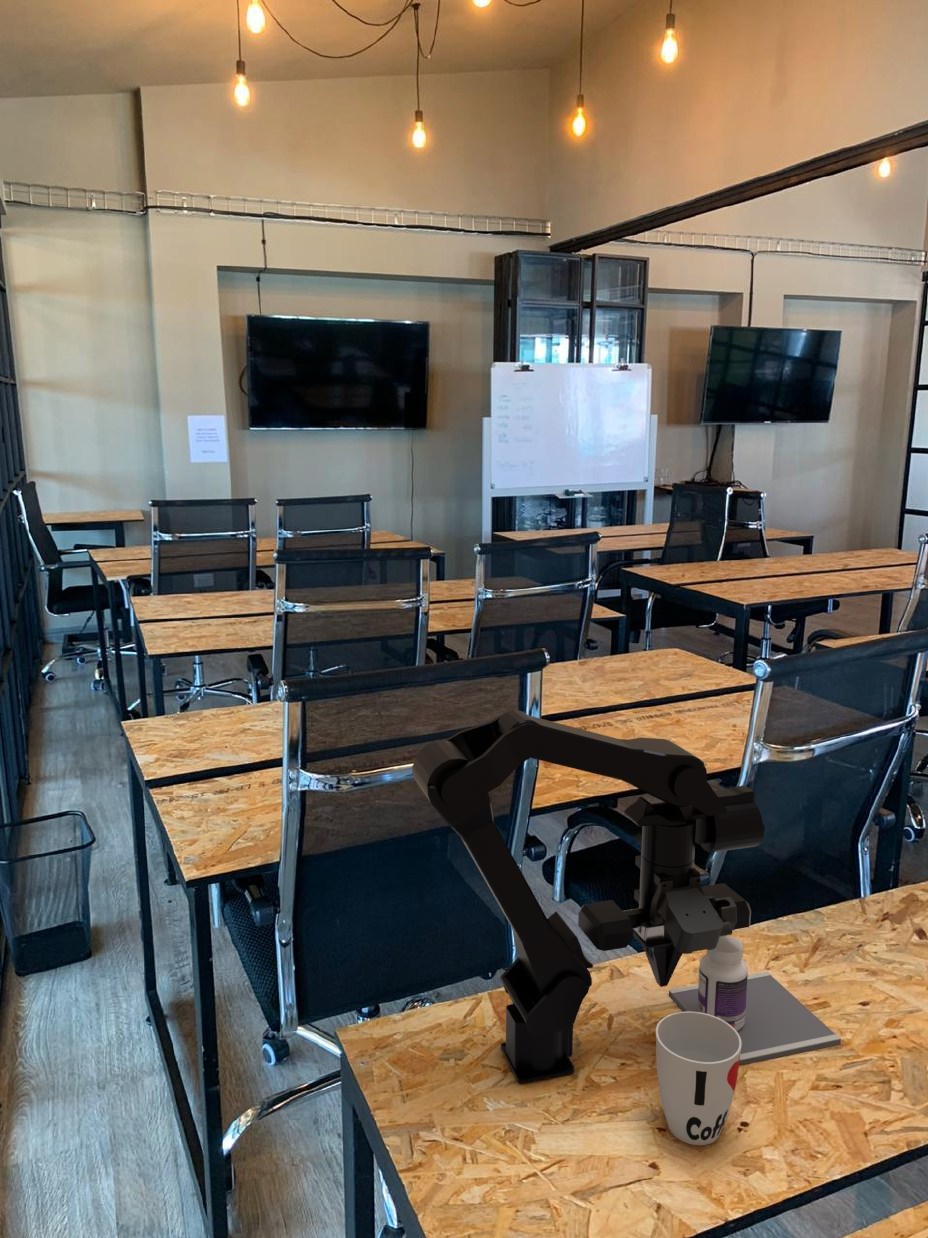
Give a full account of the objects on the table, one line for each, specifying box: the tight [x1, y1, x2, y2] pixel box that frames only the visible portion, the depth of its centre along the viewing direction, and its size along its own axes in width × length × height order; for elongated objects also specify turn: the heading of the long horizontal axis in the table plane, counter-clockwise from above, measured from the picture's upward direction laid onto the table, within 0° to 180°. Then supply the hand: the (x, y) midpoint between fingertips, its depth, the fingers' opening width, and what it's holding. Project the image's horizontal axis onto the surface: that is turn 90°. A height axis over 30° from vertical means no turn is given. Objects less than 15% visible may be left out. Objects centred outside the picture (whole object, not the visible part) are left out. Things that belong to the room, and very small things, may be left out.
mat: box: [668, 971, 842, 1066], centre depth 109 cm, size 14×14×1 cm
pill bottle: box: [698, 935, 749, 1031], centre depth 107 cm, size 5×5×10 cm
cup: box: [655, 1011, 742, 1146], centre depth 91 cm, size 8×8×10 cm
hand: (661, 984), depth 105 cm, fingers closed
